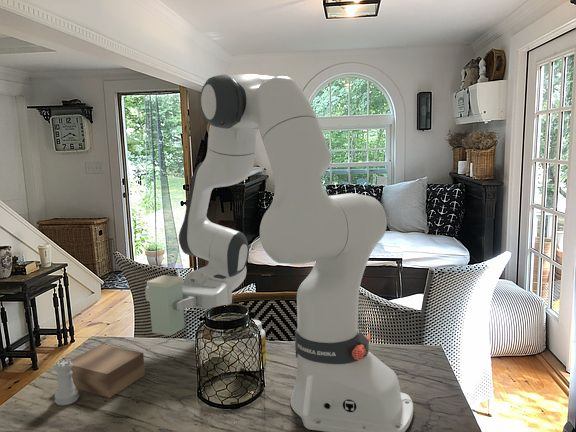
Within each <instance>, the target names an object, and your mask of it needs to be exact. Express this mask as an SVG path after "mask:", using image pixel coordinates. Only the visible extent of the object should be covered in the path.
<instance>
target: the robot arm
mask: <svg viewBox="0 0 576 432" xmlns="http://www.w3.org/2000/svg"><path fill="white" fill-rule="evenodd" d="M307 97H308V96H306V94H305V92H304V91H303V89H302V87H301V86H300V84H298V82H297V81H296V80H295V79H293V78H292V77H290V76H284V75H279V76H278V75H277V76H272V75H263V74H255V73H239V74H230V75H229V74H225V73H224V74H217V75H214V76H211V77H208V78H207V80H206V81H205V82H204V84H203V86H202V89H201V93H200V106H201V107H200V109H201V111H202V115H203V117H204V118H205V120H206V121H207V122H208V124H209V130H208V137H207V149H206V150H207V151H206V156H205V158H204V160H203V161H202V162H200V163H198V165H196V167H195V169H194V172H193V176H192V179H191V182H190V187H189V193H188V197H187V202H186V209H185V214H184V218H183V222H182V224H181V227H180V230H179V233H178V244H179V245H180V248H181V251H182V252H183V253H184V255H187V256H192V257H194V258H200V259H203V260H205V261H208V264H207V265H206V266H203V267H200V268H197V269H195V270H192V271H190V272H188V273H187V274H186V275H185V277H184V278H183V281H182V293H183V300H177V301H175V302H174V303H173V306H174V307H173V308H174V310H182V309H184V310H185V309H190V308H193V309H203V310H208V309H210V308H212V307H215V306H220V305H226V306H229V305H231V304H232V303H233V291H235V290H236V289H237V288H239V286H241V284H242V283H243V282H244V280H245V279H246V276H247V264H248V260H249V253H250V247H249V243H248V240H247V237H246V236H245V234H244V232H241V231H239V230H236V229H233V228H230V227H226V226H224V225H220V224H218V223H214V222H212V221H211V220H209V218H208V217H207V214H208V208H209V204H210V199H211V194H212V191H213V190H214V189H215V188H223V187H224V188H225V187H230V186H234V185H236V184H240V183H241V182H244V181H245V180H246V179H247V178H248V177H249V176H250V175H251V173H252V172H253V169H254V166H255V159H256V149H257V148H256V147H257V132H258V130H259V133H260V137H261V140H262V142H263V145H264V149H265V151H266V154H267V157H268V161H269V163H270V167H271V171H272V174H273V181H274V192H273V199H272V201H271V204H270V205H269V207H268V208H267V210H266V211H265V213H264V214H263V216H262V219H261V222H260V225H259V239H260V244H261V245H262V247H263V250H264V251H265V253H266V254H267V255H268V257H269V258H270V259H271V260H272V261H274V262H275V263H278V264H287V265H298V264H299V265H300V264H301V265H305V264H310V263H312V262H313V263H314V265H313V267H312V269H311V271H310V273H309V274H308V275H307V276H306V277H305V279H304V280H303V281H302V282H301V284H300V285H299V287H298V289H297V292H296V313H297V314H296V317H297V318H296V319H297V323H296V324H297V328H296V329H295V334H294V338H295V339H294V340H295V341H294V348H295V349H294V350H295V357H296V370H295V373H296V374H295V379H294V386H293V391H292V392H291V393H292V394H291V397H290V406H291V408H292V410H293V412H294V413H296V414H297V416H299V417H300V419H301V420H302V421H301V422H302V423H303V426H304V427H305V428H306V429H307V430H310V431H311V430H312V431H318V432H319V431H320V432H406V431H407V429H408V428H409V427H410V424H411V423H412V420H413V418H414V403H413V400H412V398H411V397H410V395H409V394H407V393H405V392H402V391H401V387H400V382H399V378H398V376H397V374H396V373H395V371H394V370H393V369H391V368H390V367H389V366H388V365H387V364H385V363H384V362H383V361H381V360H380V359H379V358H377V357H376V356H375V355H374V354H373V353H372V352H370V351H369V349H370V347H369V342H370V341H371V333H368V334H367V335H366V336H365V335H364V334H363V333H362V331H360V329H359V324H358V323H359V298H360V297H359V296H360V295H359V294H360V288H361V283H362V279H363V276H364V273H365V269H366V268H367V267H366V266H367V264H368V261H369V259H370V257H371V255H372V253H373V250H374V249H375V247H376V246H377V244H378V243H379V242H380V241H381V240H382V239H383V238H384V236H385V234H386V231H387V226H388V219H387V214H386V211H385V209H384V207H383V205H382V203H381V202H380V201H379V200H378V199H376V198H375V197H373V196H371V195H365V194H360V193H353V192H352V193H351V192H349V193H341V194H332V195H326V194H325V193H324V190H323V186H322V179H321V178H322V177H323V176H324V175H325V174H326V172H327V171H328V169H329V167H330V165H331V162H332V153H331V151H330V148H329V145H328V143H327V140H326V138H325V136H324V133H323V130H322V128H321V124H320V123H319V120H318V117H317V115H316V113H315V111H314V108H313V107H312V105H311V103H310V101H309V99H308V98H307ZM144 291H145V292H144V293H145V299H146V301H147V302H149V303H150V299H149V287H148V285H146V286H145V290H144Z"/></svg>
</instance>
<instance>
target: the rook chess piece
mask: <svg viewBox="0 0 576 432" xmlns="http://www.w3.org/2000/svg"><path fill="white" fill-rule="evenodd" d="M72 366H73V363H71V359H69V358H64V360H63V359H59V361H56V365H55V367H54V370H55V371H56V372H57V374H56V377H57V380H58V382H57V388H56V392H55V393H54V403H56V404H57V405H58V406H61V407H62V406H69V405H72V404H74V403H75V402H77V400H78V399H79V398H80V393H79V391H80V390H79V389H78V388H77V387H76V385H74V383H73V379H72V373H73V371H71V368H72Z"/></svg>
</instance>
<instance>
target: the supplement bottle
mask: <svg viewBox="0 0 576 432" xmlns="http://www.w3.org/2000/svg"><path fill="white" fill-rule="evenodd" d="M252 320H253V321H254V322H255V324H256V325H257V327H258V329H259V331H260V335H261V344H262V352H263V365H264V369H265V368H266V366H267V351H266V350H267V347H266V342H267V341H266V332H265V330H264V329H263V327H262V322H261V321H260V320H259V319H252Z"/></svg>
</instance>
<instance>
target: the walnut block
mask: <svg viewBox="0 0 576 432" xmlns="http://www.w3.org/2000/svg"><path fill="white" fill-rule="evenodd" d="M144 356H145V355H144V352H140V351H135V350H132V349H127V348H123V347H119V346H118V347H117V346H112V345H108V344H104V343H101V344H99V345H97V346H94V347H93V348H91V349H89V350H87V351H85V352H83V353H81V354H79V355H77V356H75V357H73V358H71V359H70V360H71V363H73V366H72V368H71V371H73V373H72V379H73V383H74V385H76V387H77V388H78V390H79V391H84V392H87V393H90V394H94V395H98V396H100V397H104V398H109V399H110V398H111V397H113V396H115V395H117V394H118V393H119V392H121V391H123V390H125V388H127V387H129V386H130V385H132V384H133V383H135V382H136V381H138V380H139V379H141V378H142V377H144V376H146V371H145V369H146V367H145V357H144Z"/></svg>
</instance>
